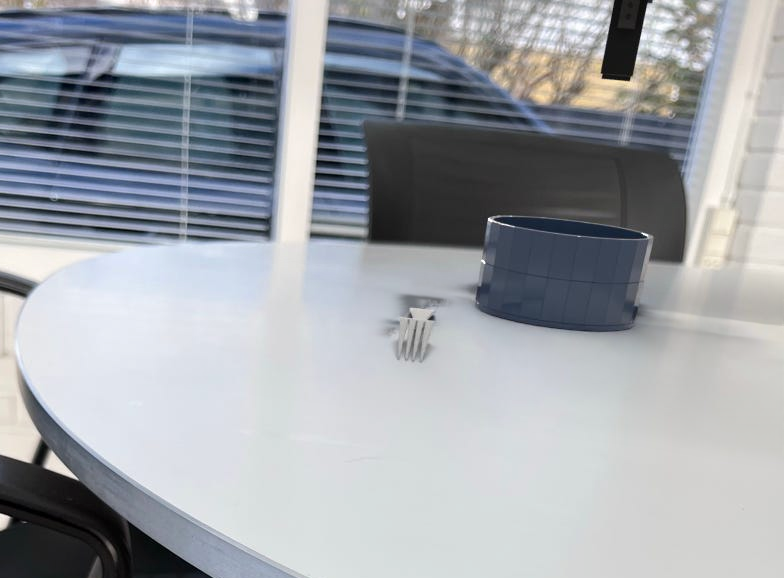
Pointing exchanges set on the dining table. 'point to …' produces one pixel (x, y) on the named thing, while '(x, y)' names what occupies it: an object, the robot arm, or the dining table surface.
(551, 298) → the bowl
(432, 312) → the fork
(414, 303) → the dining table surface
